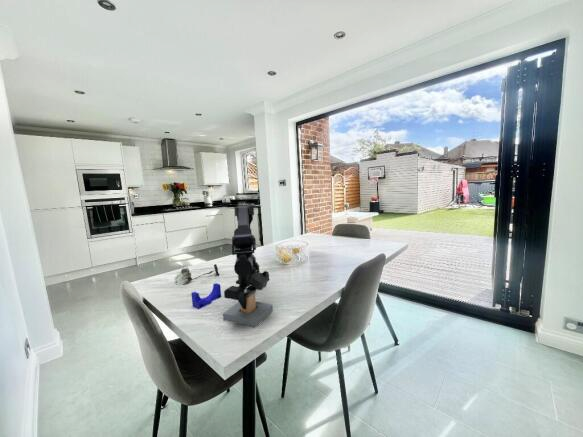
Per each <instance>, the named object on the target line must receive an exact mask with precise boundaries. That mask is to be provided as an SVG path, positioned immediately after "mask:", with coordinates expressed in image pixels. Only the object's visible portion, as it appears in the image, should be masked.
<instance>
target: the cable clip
mask: <svg viewBox="0 0 583 437" xmlns="http://www.w3.org/2000/svg"><path fill="white" fill-rule="evenodd" d="M212 284H213V286H212V290H211V291H210V293H209V294H208V295H207V296H206V297H202V298H201V296H200V294H199V293H200V292H199V293H198V292H197V291H193V292H191V294H190V295H191V302H192V303H191V304H192V307H194V308H196V309H197V310H200V309H202V308H204V307H207V306H209V305H211V304H212V302H214V301H216V300H218V299H220V298H221V297H222V290H221V284H220V283H218V282H215V283H212Z"/></svg>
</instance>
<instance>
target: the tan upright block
mask: <svg viewBox="0 0 583 437" xmlns="http://www.w3.org/2000/svg"><path fill="white" fill-rule="evenodd" d="M246 293H249V294H248V295H247V300H246V309H243V308H242V306H241V305H240V306H241V312H244V313H249V314H250V313H252V312H253V311H254V310H255V309H256V302H257V301H256V293H255V290H249V289H246ZM255 301H256V302H255Z"/></svg>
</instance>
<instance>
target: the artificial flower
mask: <svg viewBox="0 0 583 437" xmlns="http://www.w3.org/2000/svg"><path fill="white" fill-rule="evenodd" d="M213 268H214V270H212V271H209V272H207V273H203V274H201V275H199V276H196V277H194V278H192V272H190V269H189V268H188V267H185V268H182V269H181V270H180V273H179V274H176V276H175V277H174V281H175V282H176V283H175V284H176V286H182V285H185V284H187V282H188V281H193V280H196V279H198V278H201V277H202V276H205V275H210V274H212V273H214V272H215V274H216V275H217V276H220V273H219V271H220V270H219V268H218V266H217V264H216V263H215V264H214V265H213Z"/></svg>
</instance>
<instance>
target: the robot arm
mask: <svg viewBox="0 0 583 437" xmlns="http://www.w3.org/2000/svg"><path fill="white" fill-rule="evenodd" d="M254 208H255V207H254V206H252V205H249V204H239V205H237V206H235V207H234V216H235V217H236V221H237V228H236V229H234V232H233V236H232V237H231V256H236V259H235V262H234V266H233V267H234V268H233V269H234V273H235V274H237V280H236V281H235V284H236V285H238V286H236V285H231V286H230V287H227V288H226V289H225V290H224V291H223V295H224V296H223V298H225V299H229V300H234V301H235V300H236V301H237V302H239V303H240V305H241V306H242V308H243V309H246V300H247V295H248V294H249V293H246V289H249V290H255V294H256V292H257V290H258V291H262V290H263V289H264V288H266V287H267V285H268V282H269V281H270V280H271V279H270V274H269V271H267V270H264V271H263V272H260V264H259V263H258V262H257V257H255V255H254V254H255V251H256V250H257V245H256V237H255V235H253V233H252V232H253V231H252V228H251V224H252V222H253V220H254V216H255V209H254Z"/></svg>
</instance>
